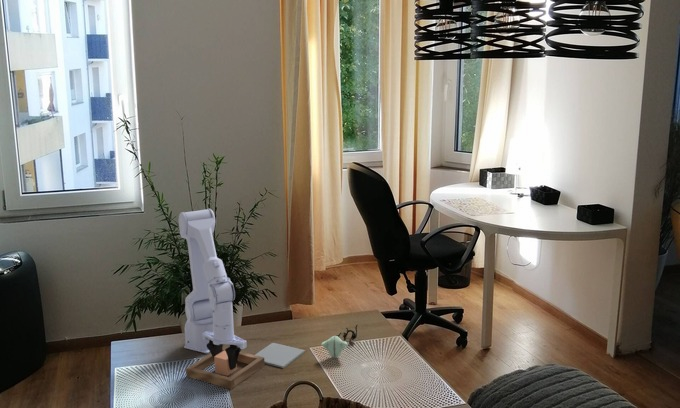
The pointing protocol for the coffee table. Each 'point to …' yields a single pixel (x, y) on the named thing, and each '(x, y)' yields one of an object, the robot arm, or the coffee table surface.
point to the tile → (279, 354)
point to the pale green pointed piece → (334, 346)
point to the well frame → (228, 382)
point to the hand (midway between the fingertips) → (225, 366)
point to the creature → (352, 334)
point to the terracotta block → (223, 364)
